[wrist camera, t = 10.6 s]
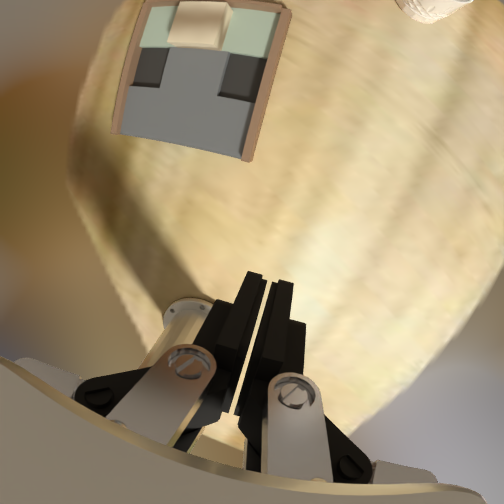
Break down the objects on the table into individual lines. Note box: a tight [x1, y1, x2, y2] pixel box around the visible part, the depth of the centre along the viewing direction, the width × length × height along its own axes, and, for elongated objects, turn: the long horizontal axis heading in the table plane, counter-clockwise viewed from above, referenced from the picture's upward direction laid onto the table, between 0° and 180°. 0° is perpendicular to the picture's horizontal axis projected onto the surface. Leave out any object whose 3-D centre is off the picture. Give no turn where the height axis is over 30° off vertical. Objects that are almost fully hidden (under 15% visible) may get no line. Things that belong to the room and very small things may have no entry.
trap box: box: [111, 0, 292, 162], centre depth 29 cm, size 20×20×3 cm
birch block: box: [167, 1, 233, 51], centre depth 25 cm, size 6×6×3 cm
